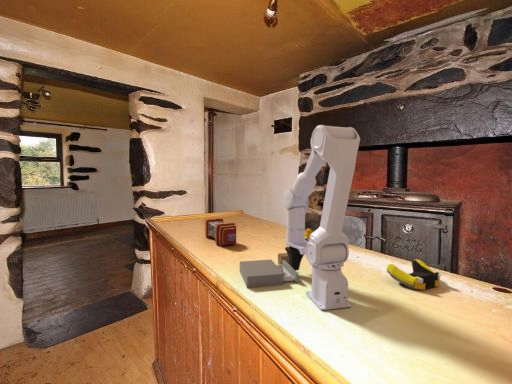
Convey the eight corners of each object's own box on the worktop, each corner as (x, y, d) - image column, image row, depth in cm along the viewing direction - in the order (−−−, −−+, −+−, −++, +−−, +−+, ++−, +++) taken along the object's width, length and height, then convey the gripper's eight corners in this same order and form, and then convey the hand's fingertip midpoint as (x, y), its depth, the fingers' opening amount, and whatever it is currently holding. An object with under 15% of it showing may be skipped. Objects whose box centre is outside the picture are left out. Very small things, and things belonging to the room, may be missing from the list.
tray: (299, 281, 78) (299, 273, 77) (263, 285, 75) (263, 276, 75) (285, 267, 90) (285, 260, 90) (253, 269, 87) (254, 262, 87)
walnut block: (290, 265, 92) (290, 255, 92) (280, 266, 91) (281, 256, 91) (286, 262, 96) (287, 252, 95) (277, 262, 95) (278, 253, 95)
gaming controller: (382, 280, 80) (413, 294, 71) (383, 263, 80) (414, 275, 71) (415, 273, 86) (447, 285, 77) (416, 257, 86) (448, 267, 77)
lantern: (201, 217, 136) (222, 227, 109) (218, 215, 140) (242, 225, 114) (201, 235, 136) (222, 250, 110) (218, 233, 141) (242, 248, 114)
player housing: (283, 284, 76) (283, 273, 76) (247, 288, 74) (247, 276, 73) (271, 268, 89) (271, 259, 89) (239, 271, 86) (239, 261, 86)
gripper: (317, 232, 77) (316, 277, 78) (298, 223, 91) (297, 261, 92) (295, 233, 75) (294, 279, 76) (279, 224, 89) (278, 262, 90)
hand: (294, 269), depth 84 cm, fingers closed, pressing on tray
